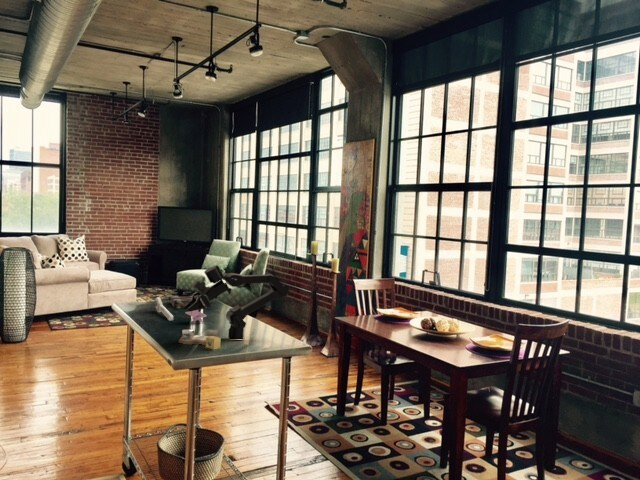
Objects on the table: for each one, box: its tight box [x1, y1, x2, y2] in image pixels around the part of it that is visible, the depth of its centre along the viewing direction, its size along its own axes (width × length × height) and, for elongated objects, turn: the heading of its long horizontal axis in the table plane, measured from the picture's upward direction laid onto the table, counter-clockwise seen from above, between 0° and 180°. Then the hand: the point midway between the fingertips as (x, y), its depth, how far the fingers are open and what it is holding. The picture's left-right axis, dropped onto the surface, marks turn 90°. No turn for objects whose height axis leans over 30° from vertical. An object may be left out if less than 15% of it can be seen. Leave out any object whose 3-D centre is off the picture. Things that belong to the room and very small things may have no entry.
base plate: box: [177, 329, 222, 346], centre depth 244 cm, size 17×11×6 cm, turn 92°
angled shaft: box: [181, 328, 195, 340], centre depth 243 cm, size 5×3×4 cm, turn 122°
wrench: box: [155, 296, 174, 322], centre depth 297 cm, size 8×2×30 cm
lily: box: [185, 310, 207, 324], centre depth 281 cm, size 12×12×10 cm
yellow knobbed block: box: [205, 335, 222, 350], centre depth 234 cm, size 4×5×5 cm
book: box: [170, 295, 192, 309], centre depth 327 cm, size 15×25×5 cm, turn 22°
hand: (185, 309), depth 242 cm, fingers open, 9 cm apart
